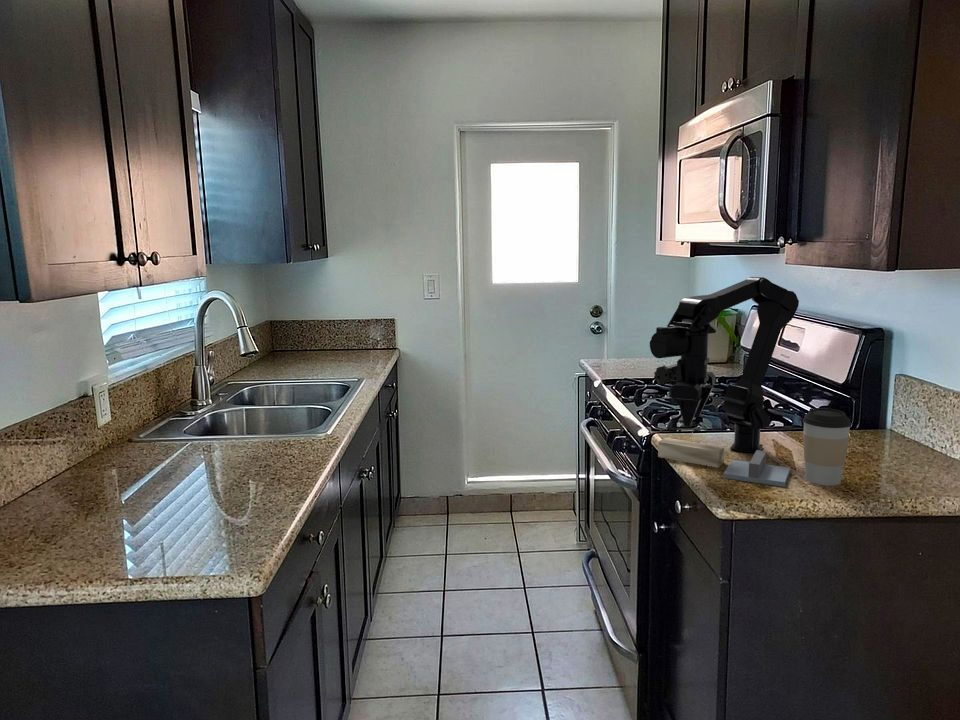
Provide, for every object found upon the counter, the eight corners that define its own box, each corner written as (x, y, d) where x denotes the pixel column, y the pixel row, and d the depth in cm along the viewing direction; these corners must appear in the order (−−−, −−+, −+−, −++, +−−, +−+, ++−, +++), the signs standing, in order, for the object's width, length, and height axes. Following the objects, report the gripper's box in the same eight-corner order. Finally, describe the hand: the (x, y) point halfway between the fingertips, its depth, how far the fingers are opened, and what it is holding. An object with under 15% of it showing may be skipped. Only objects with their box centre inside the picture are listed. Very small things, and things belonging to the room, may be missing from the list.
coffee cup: (848, 476, 144) (853, 407, 141) (846, 490, 136) (851, 417, 134) (801, 470, 149) (805, 403, 146) (796, 483, 141) (801, 412, 138)
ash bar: (664, 453, 163) (664, 437, 162) (723, 463, 155) (724, 447, 154) (658, 458, 160) (658, 441, 159) (718, 468, 151) (719, 451, 151)
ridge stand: (732, 464, 153) (732, 447, 153) (790, 472, 147) (791, 454, 147) (723, 477, 145) (724, 459, 144) (784, 486, 139) (785, 468, 138)
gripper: (669, 346, 165) (667, 408, 167) (646, 358, 149) (645, 427, 152) (716, 348, 159) (714, 413, 162) (698, 362, 143) (696, 433, 146)
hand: (692, 421), depth 156 cm, fingers open, 9 cm apart
